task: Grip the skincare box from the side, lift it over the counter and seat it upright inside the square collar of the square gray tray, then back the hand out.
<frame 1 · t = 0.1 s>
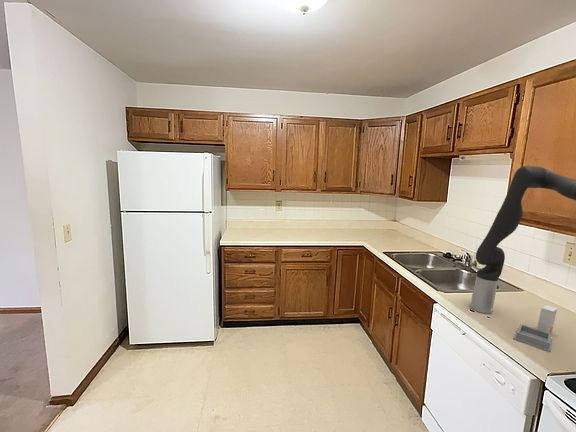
skincare box: (543, 333, 135), on the worktop
square gray tray: (532, 340, 128), on the worktop
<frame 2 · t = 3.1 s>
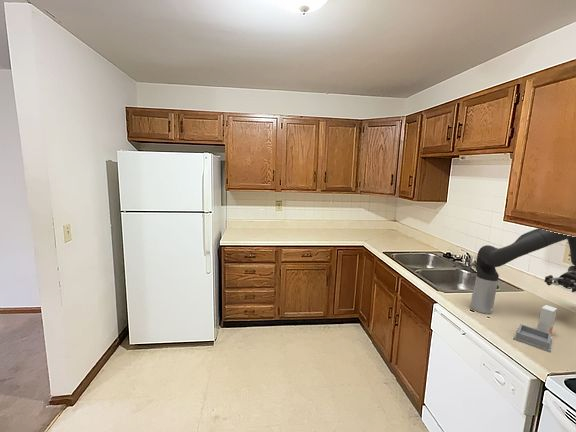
hand: (560, 286, 137), 20 cm above the worktop, tool horizontal, fingers open, 8 cm apart
nothing on the worktop moved.
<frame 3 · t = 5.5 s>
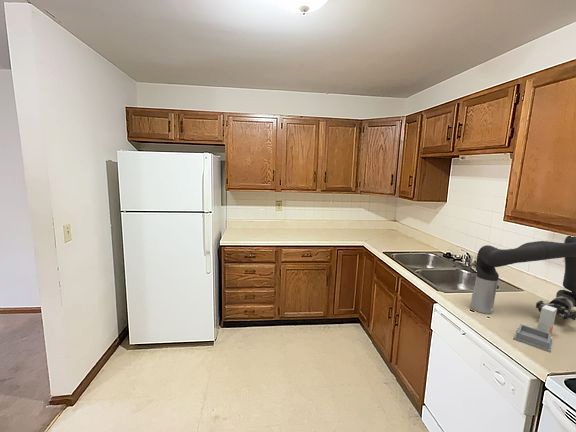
hand: (552, 313, 138), 7 cm above the worktop, tool horizontal, fingers open, 8 cm apart
nothing on the worktop moved.
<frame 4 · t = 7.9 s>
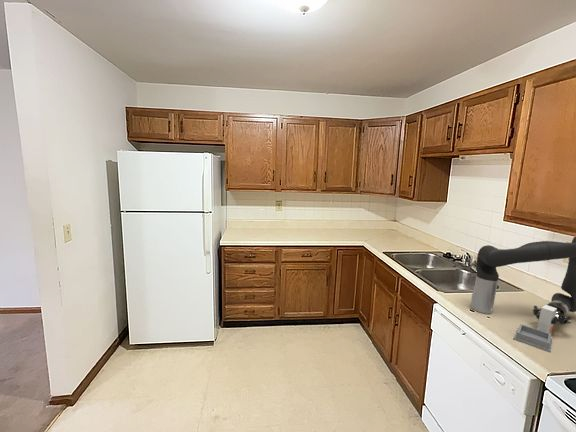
hand: (545, 319, 132), 7 cm above the worktop, tool horizontal, fingers closed on skincare box, 4 cm apart
skincare box: (543, 333, 135), on the worktop, touching gripper
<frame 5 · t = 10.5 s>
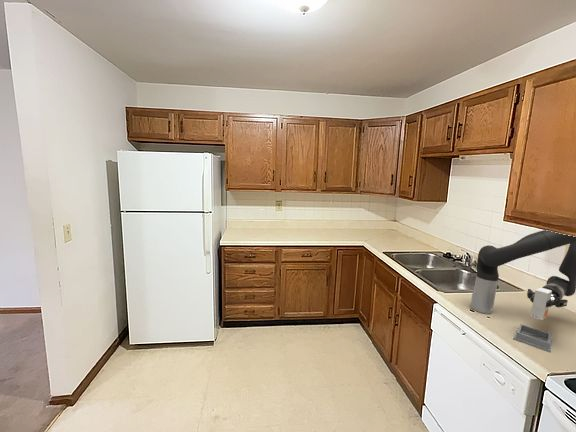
hand: (539, 302, 124), 18 cm above the worktop, tool horizontal, fingers closed on skincare box, 4 cm apart
skincare box: (538, 317, 126), point 10 cm above the worktop, touching gripper
when the fingers open (9 cm above the worktop, at t = 13.0 s): skincare box drops 1 cm, resting on square gray tray.
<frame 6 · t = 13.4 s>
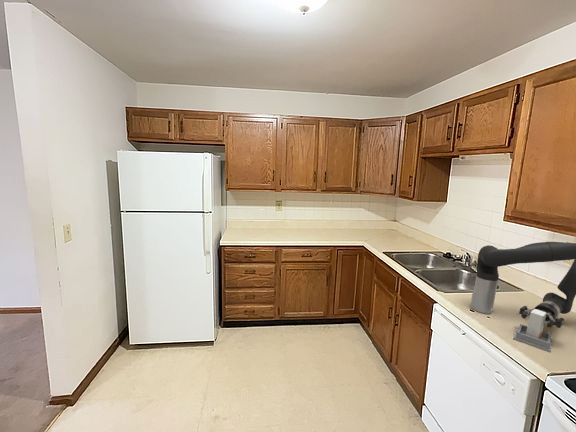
hand: (535, 320, 125), 10 cm above the worktop, tool horizontal, fingers open, 8 cm apart
skincare box: (532, 338, 128), point 1 cm above the worktop, touching square gray tray
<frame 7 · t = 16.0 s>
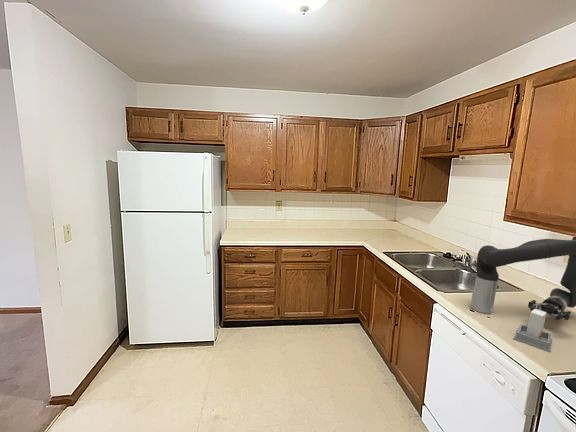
hand: (544, 313, 132), 9 cm above the worktop, tool horizontal, fingers open, 8 cm apart
nothing on the worktop moved.
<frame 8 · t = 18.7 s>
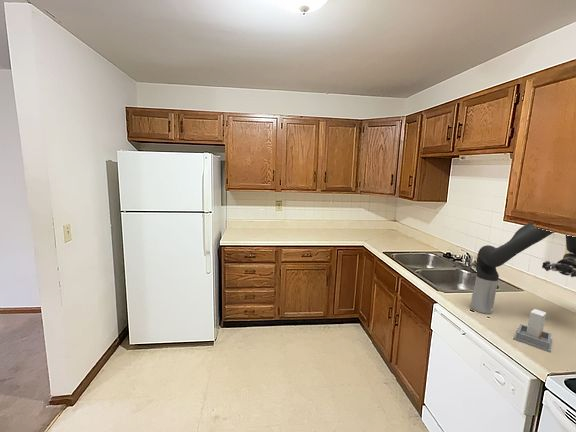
hand: (559, 271, 132), 28 cm above the worktop, tool horizontal, fingers open, 8 cm apart
nothing on the worktop moved.
at the end: skincare box 0.0 cm from the square gray tray (horizontally); skincare box point 0.6 cm above the worktop; skincare box tilted 0° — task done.
